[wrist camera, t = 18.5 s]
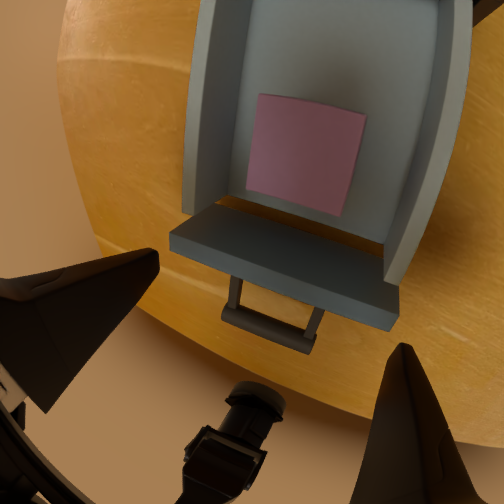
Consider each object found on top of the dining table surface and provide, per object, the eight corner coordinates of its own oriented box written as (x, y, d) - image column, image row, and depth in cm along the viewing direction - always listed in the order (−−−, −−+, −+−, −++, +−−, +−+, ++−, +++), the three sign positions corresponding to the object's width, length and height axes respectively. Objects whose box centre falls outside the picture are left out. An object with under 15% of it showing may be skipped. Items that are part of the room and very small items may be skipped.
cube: (349, 189, 13) (340, 218, 10) (276, 168, 14) (244, 189, 11) (367, 115, 11) (366, 116, 8) (288, 96, 12) (257, 92, 9)
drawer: (362, 331, 19) (352, 384, 15) (209, 274, 22) (173, 311, 18) (460, -8, 6) (484, -42, 2) (246, -44, 9) (203, -76, 5)
